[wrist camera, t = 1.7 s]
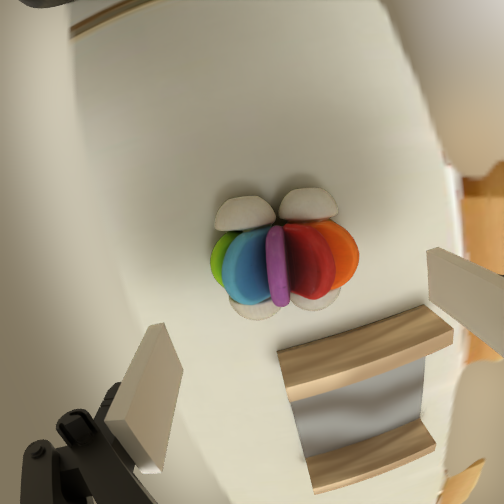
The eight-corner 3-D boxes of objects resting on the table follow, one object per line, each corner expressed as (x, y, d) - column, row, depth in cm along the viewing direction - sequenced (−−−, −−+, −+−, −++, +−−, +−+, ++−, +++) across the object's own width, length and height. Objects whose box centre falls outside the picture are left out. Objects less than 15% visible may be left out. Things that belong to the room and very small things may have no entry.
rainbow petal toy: (342, 289, 25) (378, 332, 18) (221, 308, 25) (218, 360, 18) (335, 182, 23) (376, 190, 16) (203, 199, 23) (190, 214, 16)
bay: (276, 351, 26) (285, 388, 21) (423, 304, 26) (453, 328, 21) (306, 462, 31) (314, 494, 26) (417, 423, 30) (434, 450, 26)
